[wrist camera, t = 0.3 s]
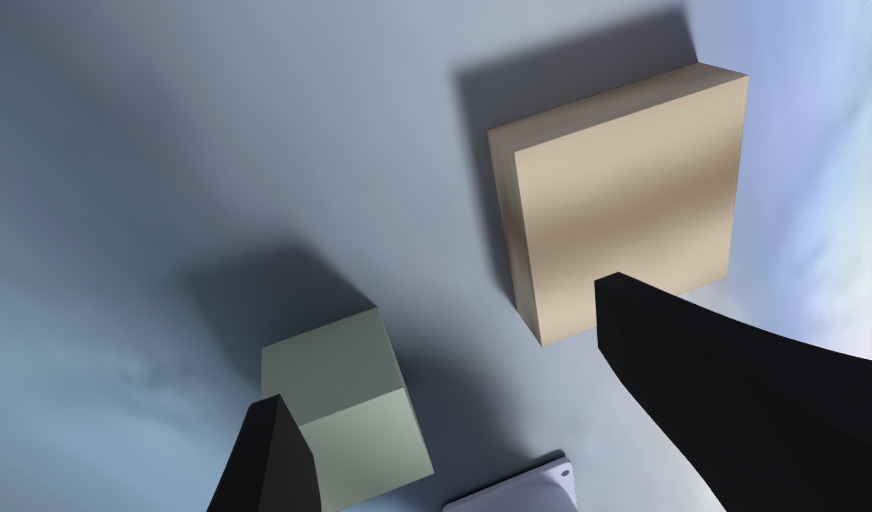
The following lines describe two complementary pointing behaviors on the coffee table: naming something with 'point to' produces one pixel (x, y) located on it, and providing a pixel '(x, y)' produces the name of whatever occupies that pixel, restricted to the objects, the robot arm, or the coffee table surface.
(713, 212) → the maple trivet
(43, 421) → the coffee table surface
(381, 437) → the sage cube
